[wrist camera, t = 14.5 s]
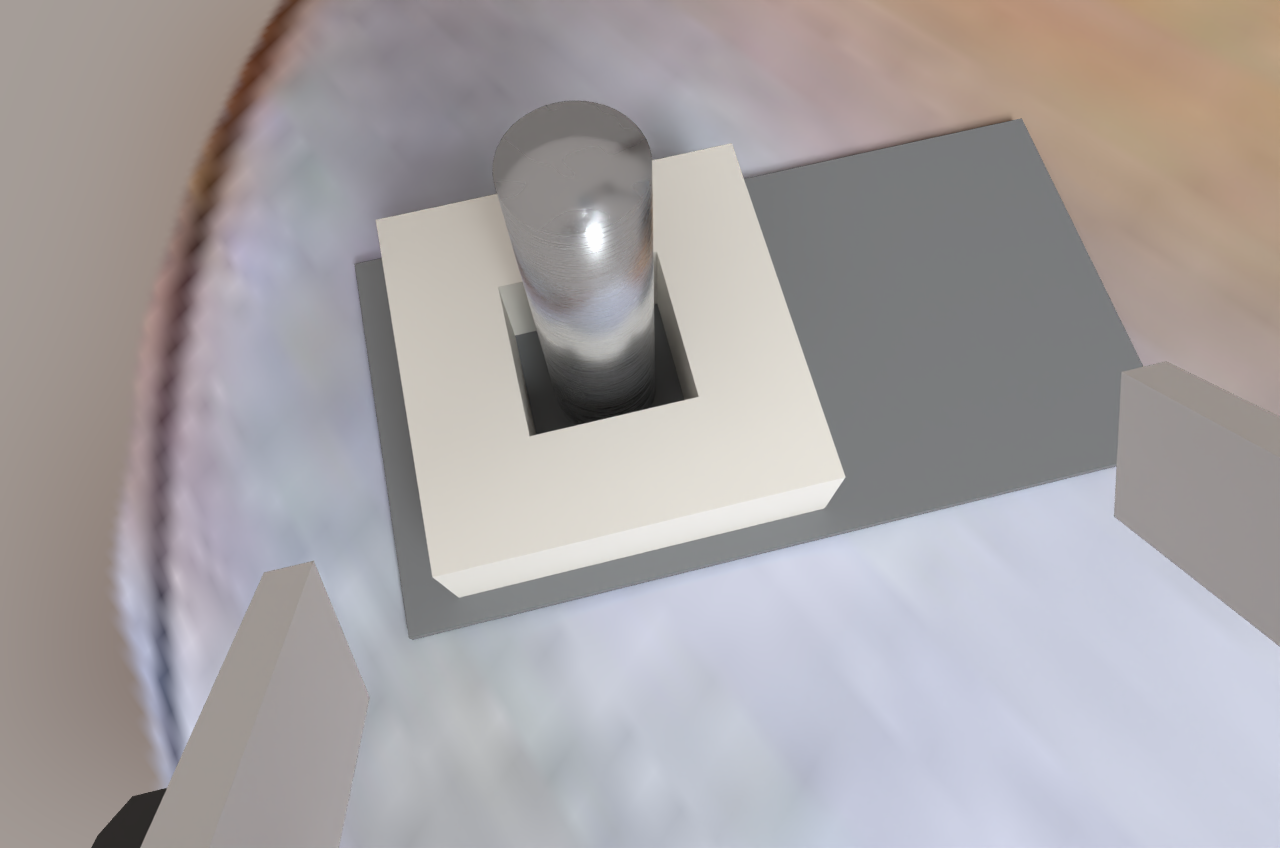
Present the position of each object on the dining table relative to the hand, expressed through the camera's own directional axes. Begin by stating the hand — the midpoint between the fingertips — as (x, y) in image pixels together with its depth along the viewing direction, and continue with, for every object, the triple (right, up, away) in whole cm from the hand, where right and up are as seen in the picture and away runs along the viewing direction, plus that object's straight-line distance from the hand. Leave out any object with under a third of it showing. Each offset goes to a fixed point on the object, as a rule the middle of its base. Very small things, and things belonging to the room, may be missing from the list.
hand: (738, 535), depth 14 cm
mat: (+3, +5, +22) cm, 22 cm away
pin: (-3, +3, +21) cm, 21 cm away
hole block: (-3, +3, +21) cm, 21 cm away
